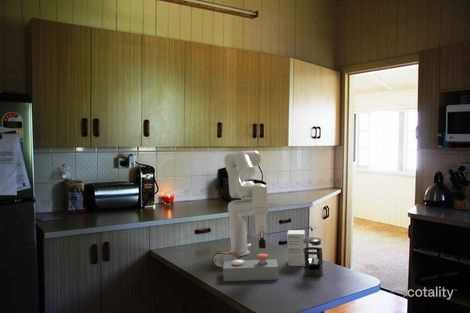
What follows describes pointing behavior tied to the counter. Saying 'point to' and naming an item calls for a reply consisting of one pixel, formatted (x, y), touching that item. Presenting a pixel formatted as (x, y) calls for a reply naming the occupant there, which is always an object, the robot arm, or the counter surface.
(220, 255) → the tin
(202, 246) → the counter surface
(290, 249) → the supplement box
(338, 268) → the counter surface
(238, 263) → the white button
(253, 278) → the console
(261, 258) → the red button
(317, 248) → the french press
